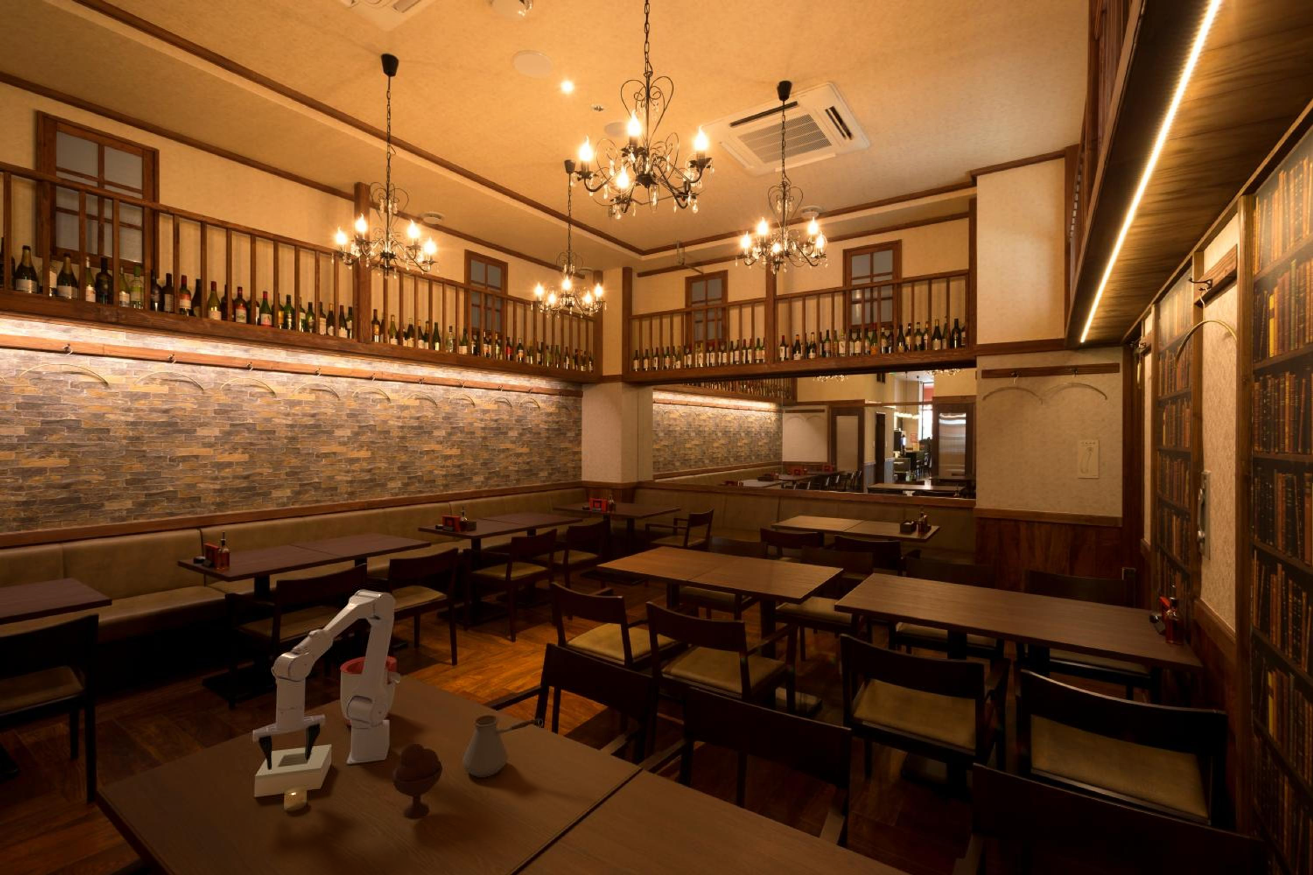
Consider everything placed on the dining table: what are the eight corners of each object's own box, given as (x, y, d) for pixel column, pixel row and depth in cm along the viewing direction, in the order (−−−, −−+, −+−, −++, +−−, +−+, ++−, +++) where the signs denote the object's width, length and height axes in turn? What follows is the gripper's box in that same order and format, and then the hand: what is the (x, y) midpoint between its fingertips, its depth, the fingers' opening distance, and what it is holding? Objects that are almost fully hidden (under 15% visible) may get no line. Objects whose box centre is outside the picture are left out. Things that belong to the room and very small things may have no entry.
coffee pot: (453, 777, 153) (454, 718, 153) (476, 755, 164) (477, 700, 165) (531, 789, 149) (532, 728, 149) (549, 766, 160) (550, 709, 160)
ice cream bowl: (393, 831, 132) (395, 762, 132) (389, 803, 142) (391, 739, 142) (444, 818, 137) (445, 751, 137) (437, 792, 146) (438, 730, 147)
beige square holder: (330, 763, 159) (331, 744, 159) (320, 788, 147) (321, 767, 147) (270, 770, 155) (270, 751, 155) (254, 796, 143) (255, 775, 143)
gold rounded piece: (308, 798, 143) (308, 785, 143) (303, 809, 139) (304, 796, 139) (287, 801, 142) (287, 788, 142) (281, 812, 138) (281, 799, 138)
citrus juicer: (387, 731, 177) (389, 663, 177) (328, 731, 176) (330, 662, 177) (408, 708, 192) (410, 645, 193) (353, 707, 192) (355, 644, 192)
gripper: (322, 692, 150) (320, 746, 150) (252, 706, 141) (250, 764, 141) (327, 701, 145) (325, 758, 145) (255, 717, 136) (253, 778, 136)
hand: (288, 762), depth 143 cm, fingers open, 7 cm apart
